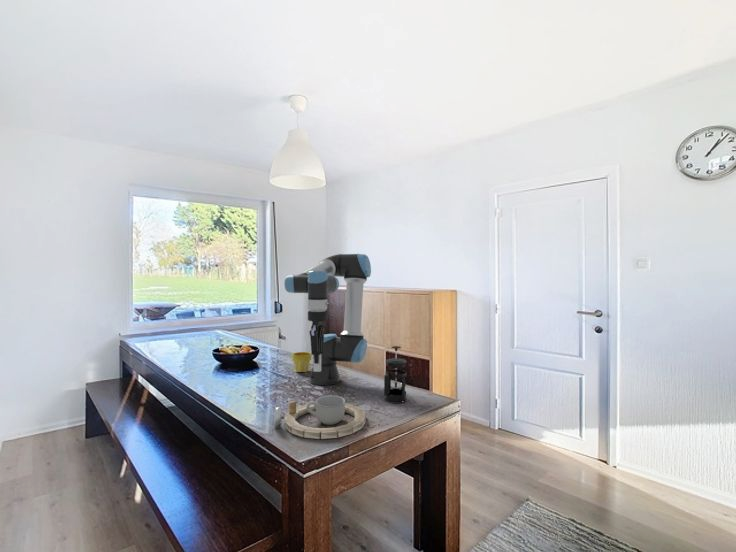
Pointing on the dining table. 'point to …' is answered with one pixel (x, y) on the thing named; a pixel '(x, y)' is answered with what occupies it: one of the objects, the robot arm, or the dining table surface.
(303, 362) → the plant pot
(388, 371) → the french press
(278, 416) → the shiny cylinder
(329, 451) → the dining table surface
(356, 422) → the ring
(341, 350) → the robot arm
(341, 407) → the teacup
